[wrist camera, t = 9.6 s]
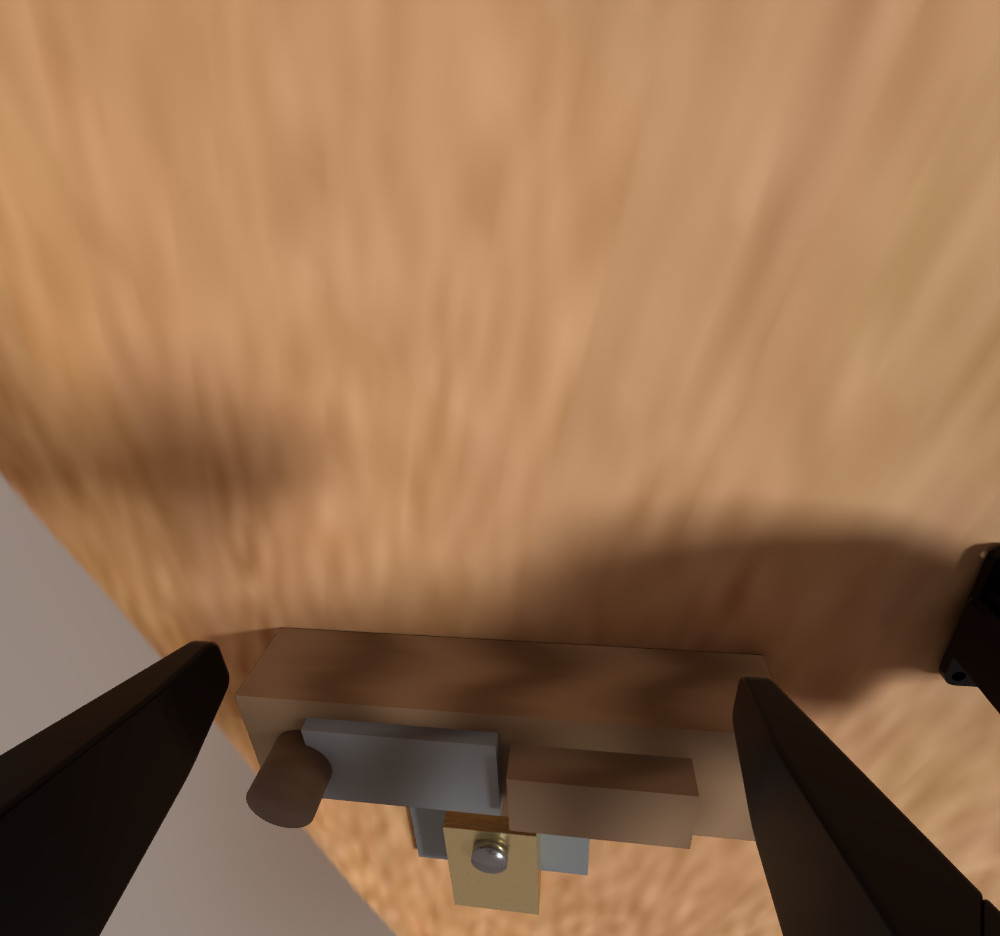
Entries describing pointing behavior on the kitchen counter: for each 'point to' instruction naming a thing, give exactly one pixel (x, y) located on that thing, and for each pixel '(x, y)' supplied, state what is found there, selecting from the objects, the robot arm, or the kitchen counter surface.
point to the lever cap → (492, 863)
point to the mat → (554, 849)
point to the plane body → (501, 733)
